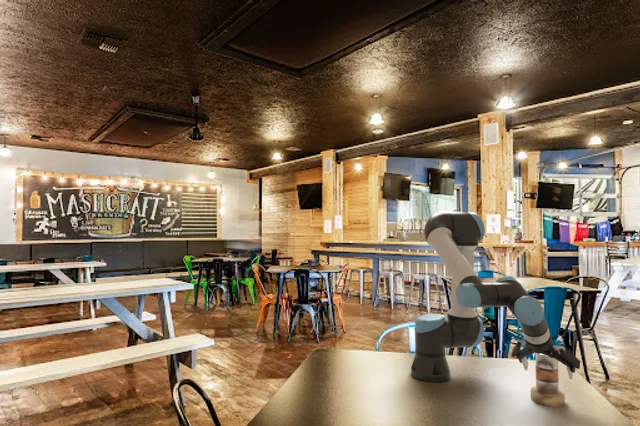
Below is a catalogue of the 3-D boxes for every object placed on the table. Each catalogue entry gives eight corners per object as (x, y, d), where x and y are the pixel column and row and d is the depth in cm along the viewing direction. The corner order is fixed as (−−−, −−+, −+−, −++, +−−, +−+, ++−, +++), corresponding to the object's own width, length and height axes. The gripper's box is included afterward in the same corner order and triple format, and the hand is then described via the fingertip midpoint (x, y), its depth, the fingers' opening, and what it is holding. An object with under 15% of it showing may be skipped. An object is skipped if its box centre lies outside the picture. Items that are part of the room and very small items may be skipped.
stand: (527, 401, 138) (527, 391, 139) (534, 392, 146) (534, 383, 146) (561, 409, 132) (561, 399, 132) (567, 399, 140) (567, 390, 140)
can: (533, 391, 139) (533, 354, 139) (538, 385, 144) (537, 349, 144) (556, 396, 134) (555, 358, 135) (560, 390, 140) (559, 353, 140)
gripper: (493, 338, 136) (507, 372, 147) (582, 353, 120) (590, 390, 131) (497, 319, 141) (511, 354, 151) (584, 331, 125) (592, 369, 135)
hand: (548, 371), depth 141 cm, fingers open, 13 cm apart
